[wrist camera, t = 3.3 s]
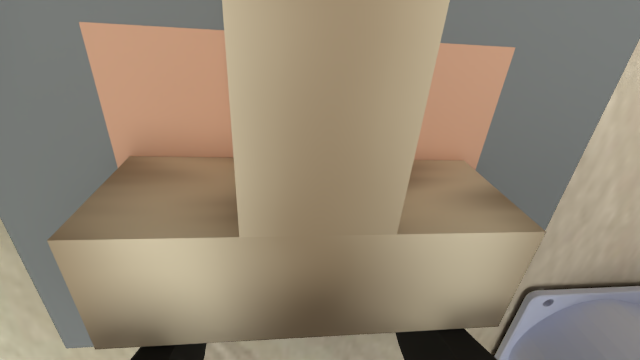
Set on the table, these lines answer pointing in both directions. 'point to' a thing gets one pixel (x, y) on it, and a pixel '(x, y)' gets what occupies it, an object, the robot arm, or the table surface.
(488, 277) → the t block
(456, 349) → the robot arm
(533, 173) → the mat
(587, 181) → the table surface
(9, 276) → the table surface
